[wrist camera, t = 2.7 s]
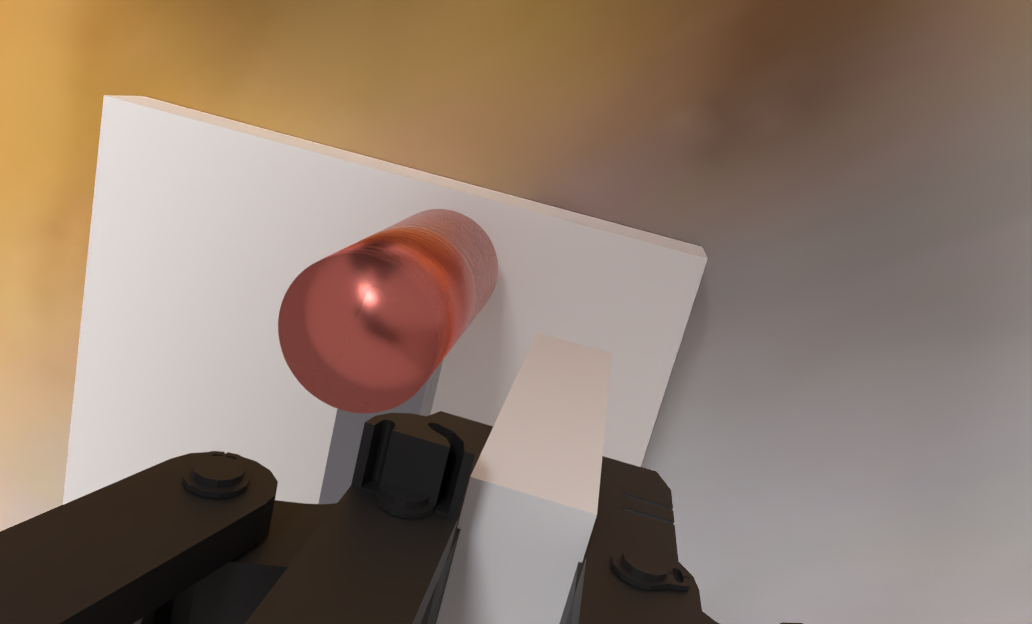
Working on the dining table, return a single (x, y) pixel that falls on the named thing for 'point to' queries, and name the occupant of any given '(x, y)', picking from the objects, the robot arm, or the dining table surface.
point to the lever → (384, 324)
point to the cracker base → (291, 249)
